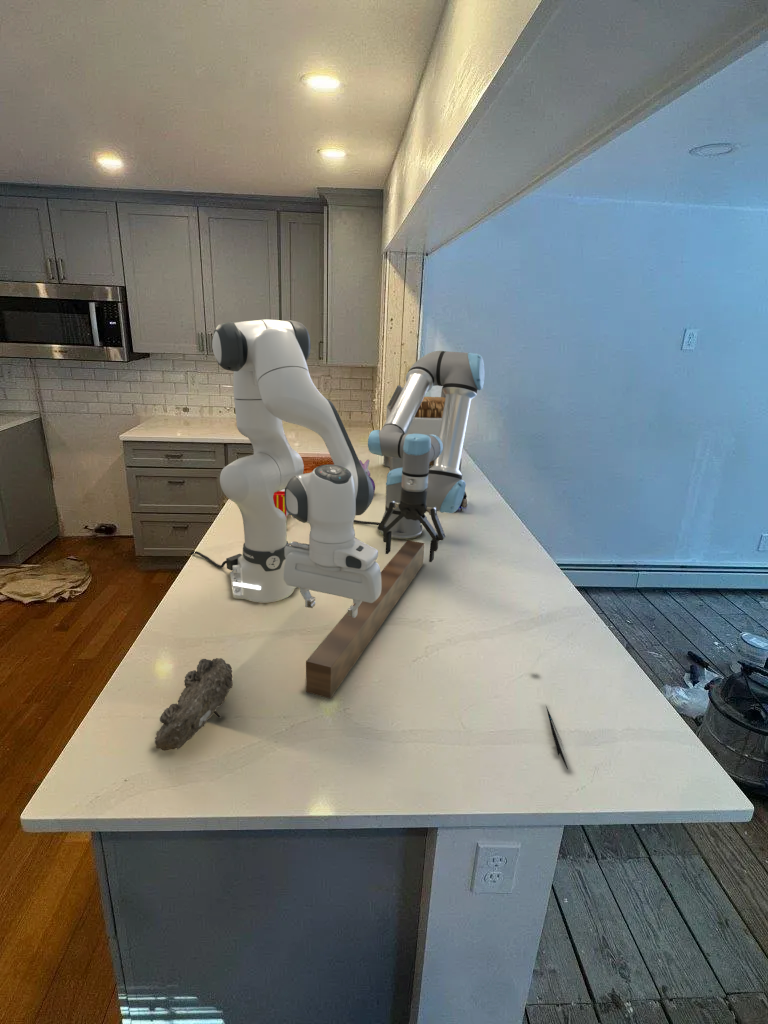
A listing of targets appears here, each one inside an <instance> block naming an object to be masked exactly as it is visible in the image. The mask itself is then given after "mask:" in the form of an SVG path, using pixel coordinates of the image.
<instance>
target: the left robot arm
mask: <svg viewBox="0 0 768 1024" xmlns="http://www.w3.org/2000/svg"><path fill="white" fill-rule="evenodd" d="M211 347H212V353H213V356H214V358H215V361H216V363H217V364H218V366H220V367H221V368H222V369H223V370H226V371H230V372H233V375H232V376H233V377H232V386H233V389H232V390H233V391H232V392H233V402H234V412H235V421H236V429H237V430H238V432H239V433H240V434H241V435H242V436H243V437H246V438H248V440H249V442H250V443H251V447H252V449H253V453H252V454H250V455H246V456H243V457H239V458H237V459H235V460H234V461H232V462H230V463H229V464H227V465H225V466H224V467H223V468H222V470H221V472H220V474H219V485H220V489H221V491H222V493H223V495H224V496H225V497H226V498H227V499H228V500H230V501H231V502H234V504H236V506H237V508H238V509H239V513H240V514H241V517H242V523H243V524H242V525H243V536H244V538H243V539H244V542H243V546H242V553H238V554H235V555H232V556H229V557H226V559H225V560H224V561H222V563H221V565H220V564H218V563H216V561H214V560H212V559H211V558H210V557H208V556H207V555H205V554H203V553H201V552H200V551H197V550H193V551H191V552H190V553H189V555H191V556H192V555H194V554H196V555H198V556H200V557H201V558H203V559H205V560H206V561H208V562H209V563H210V564H212V565H213V566H215V567H216V568H218V569H219V568H220V569H222V568H224V567H225V565H226V569H228V570H229V571H230V573H229V577H230V585H231V594H232V598H234V599H237V600H238V599H239V600H245V601H250V602H253V603H261V604H264V603H265V604H266V603H275V602H279V601H283V600H285V599H287V598H288V597H290V596H291V595H292V594H293V593H294V591H295V590H296V589H297V588H299V593H300V595H301V596H302V598H303V600H304V606H305V608H309V609H313V608H314V607H315V606H316V597H314V596H312V594H311V592H310V591H313V592H317V593H322V594H327V595H332V596H336V597H340V598H341V597H342V598H346V599H349V600H350V599H351V600H352V603H353V605H354V604H356V605H355V606H353V605H350V606H349V607H348V609H347V612H348V616H349V617H353V618H355V617H356V616H357V614H358V607H359V605H360V604H361V603H362V601H364V602H369V603H373V602H374V601H375V600H377V599H378V597H379V596H380V594H381V586H382V584H381V571H382V570H381V567H380V564H379V563H378V562H377V561H376V560H377V559H378V557H379V550H378V549H377V548H375V547H374V546H371V545H370V544H368V543H365V542H364V541H362V540H360V539H359V538H357V537H356V532H355V528H354V520H355V518H356V516H362V515H363V514H364V513H365V512H366V511H367V510H368V509H369V507H370V506H371V504H372V502H373V500H374V495H375V493H374V490H373V485H372V482H371V480H370V478H369V477H370V476H368V475H367V473H366V471H365V470H364V468H363V467H362V465H361V463H360V461H359V460H360V459H359V456H358V454H357V453H356V450H355V448H354V446H353V443H352V441H351V439H350V436H349V434H348V432H347V429H346V428H345V425H344V423H343V421H342V419H341V416H340V415H339V412H338V410H337V408H336V406H335V405H334V403H333V402H332V401H331V400H330V399H328V398H326V397H325V396H324V395H323V394H322V393H321V392H320V391H319V390H318V388H317V387H316V385H315V384H314V381H313V379H312V377H311V375H310V370H309V367H308V363H307V361H308V360H309V358H310V355H311V348H312V347H311V337H310V334H309V331H308V329H307V327H306V326H305V325H304V324H303V323H302V322H300V321H296V320H291V319H287V320H282V319H281V320H279V319H266V318H265V319H264V318H263V319H262V318H261V319H258V320H245V321H237V322H234V321H227V322H223V323H220V324H218V325H217V326H216V328H215V329H214V330H213V336H212V340H211ZM283 422H286V423H289V424H293V425H297V426H300V427H303V428H306V429H308V430H310V431H312V432H314V433H315V434H317V435H318V436H320V438H321V439H322V440H323V442H324V444H325V446H326V449H327V451H328V454H329V456H330V458H331V460H332V464H321V465H318V466H317V467H315V468H314V469H313V470H312V471H311V472H307V473H304V470H305V465H304V461H303V457H302V456H301V455H300V453H299V452H298V451H296V450H295V449H294V448H293V447H292V446H291V445H290V442H289V441H288V438H287V435H286V434H285V428H284V424H283ZM283 489H285V507H286V510H287V512H288V513H289V514H288V515H290V516H291V517H292V518H294V519H295V520H297V521H298V522H301V523H302V524H308V525H309V526H310V530H309V534H308V535H309V536H308V542H309V543H303V542H298V541H291V542H289V541H288V533H287V531H288V530H287V529H288V528H287V517H286V516H285V514H284V513H283V512H282V511H281V510H280V509H278V508H276V507H275V504H274V501H273V495H274V493H275V492H278V491H280V490H283ZM195 551H196V552H195ZM194 552H195V553H194Z"/></svg>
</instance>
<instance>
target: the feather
mask: <svg viewBox="0 0 768 1024" xmlns="http://www.w3.org/2000/svg"><path fill="white" fill-rule="evenodd" d="M535 676H537V674H536V673H535ZM545 708H546V712H547V716H548V719H549V725H550V730H551V733H552V738H553V741H554V745H555V748H556V753H557V755H558V756H559V755H560V757H561V759H562V761H563V763H564V766H565V767H566V769H567V770H568V769H569V768H568V765H567V762H566V759H565V756H564V754H565V755H566V756H567V754H566V753H563V751H565V750H566V749H565V748H566V747H564V745H560V744H561V743H563V742H562V738H561V737H560V734H559V732H558V728H557V727H556V725H555V723H554V720H553V718H552V716H551V713H550V711H549V709H548V706H547V705H545ZM561 747H562V748H561ZM562 750H563V751H562Z"/></svg>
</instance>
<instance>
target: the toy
mask: <svg viewBox="0 0 768 1024" xmlns="http://www.w3.org/2000/svg"><path fill="white" fill-rule="evenodd" d="M273 501H274V504H275V507H276V508H278V509H280V510H281V511H282V512H283V513H284V514H285V516H286V518H287V517H288V516H289V515H290V514H289V513H288V512H287V510H286V507H285V489H283V490H280V491H278V492H275V493H274V495H273Z"/></svg>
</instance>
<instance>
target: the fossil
mask: <svg viewBox="0 0 768 1024" xmlns="http://www.w3.org/2000/svg"><path fill="white" fill-rule="evenodd" d="M183 682H184V689H182V692H180V695H179V697H178V699H177V703H170V705H169V706H168V707H166V708H165V709H164V710H163V712H162V713H161V714H160V716H159V721H160V723H161V724H162V725H161V726H160V728H159V730H157V731H156V733H155V737H154V744H155V748H156V749H160V750H161V751H162V752H167V751H173V750H180V749H182V747H184V746H185V744H186V743H188V741H190V740H191V739H192V738H193V737H194V736H195V735H196V734H197V733H198V732H199V731H200V730H201V729H202V728H203V727H205V725H206V724H207V722H208V720H209V719H210V718H212V716H213V715H215V716H216V717H217V718H218V719H221V717H222V715H221V714H220V713H219V712H218V711H217V708H218V707H221V706H222V705H223V704H224V703H225V701H226V698H227V696H228V694H229V693H230V690H231V689H232V688H233V686H234V682H233V668H232V666H231V665H230V664H229V663H227V661H226V660H224V659H223V658H221V657H220V658H217V657H215V658H213V659H207V658H201V659H199V661H198V664H197V665H196V669H194V670H190V671H187V673H186V674H185V676H184V680H183Z"/></svg>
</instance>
